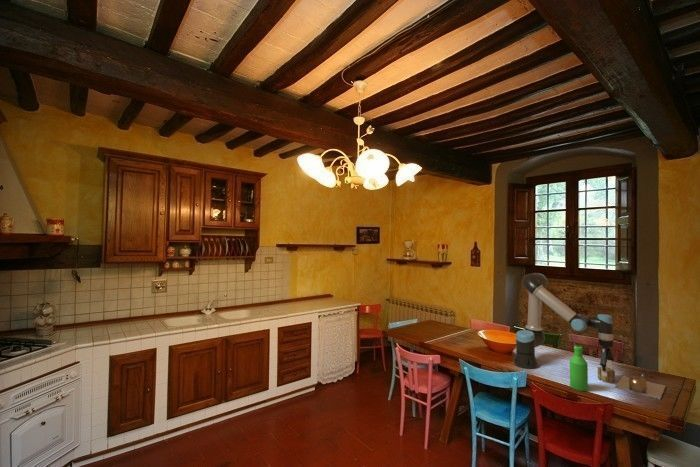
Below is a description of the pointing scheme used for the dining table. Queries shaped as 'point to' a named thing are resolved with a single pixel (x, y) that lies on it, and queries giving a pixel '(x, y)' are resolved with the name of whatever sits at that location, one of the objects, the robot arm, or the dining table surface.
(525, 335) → the robot arm
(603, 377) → the planet gear
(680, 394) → the dining table surface
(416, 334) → the dining table surface
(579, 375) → the bottle
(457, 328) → the dining table surface
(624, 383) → the carrier
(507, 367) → the dining table surface
